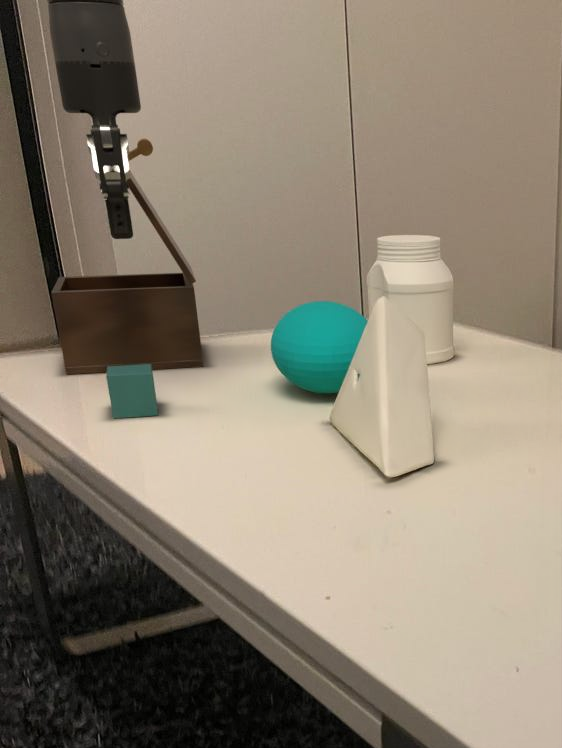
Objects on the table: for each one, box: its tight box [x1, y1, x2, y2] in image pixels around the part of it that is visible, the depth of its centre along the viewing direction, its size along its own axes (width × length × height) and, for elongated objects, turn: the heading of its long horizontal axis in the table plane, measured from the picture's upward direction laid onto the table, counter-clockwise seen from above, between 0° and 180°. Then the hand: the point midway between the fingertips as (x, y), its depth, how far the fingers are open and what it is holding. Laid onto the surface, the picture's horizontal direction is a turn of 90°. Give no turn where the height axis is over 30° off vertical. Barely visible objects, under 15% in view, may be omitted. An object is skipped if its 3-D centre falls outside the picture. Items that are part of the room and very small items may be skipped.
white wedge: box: [329, 297, 435, 478], centre depth 95 cm, size 15×6×20 cm
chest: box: [50, 272, 205, 376], centre depth 130 cm, size 17×14×10 cm
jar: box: [366, 234, 455, 365], centre depth 132 cm, size 12×10×15 cm
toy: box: [270, 300, 368, 395], centre depth 116 cm, size 18×13×10 cm
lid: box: [126, 138, 197, 285], centre depth 125 cm, size 18×14×5 cm
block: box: [105, 364, 159, 420], centre depth 108 cm, size 5×5×5 cm
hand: (122, 234), depth 106 cm, fingers open, 8 cm apart
